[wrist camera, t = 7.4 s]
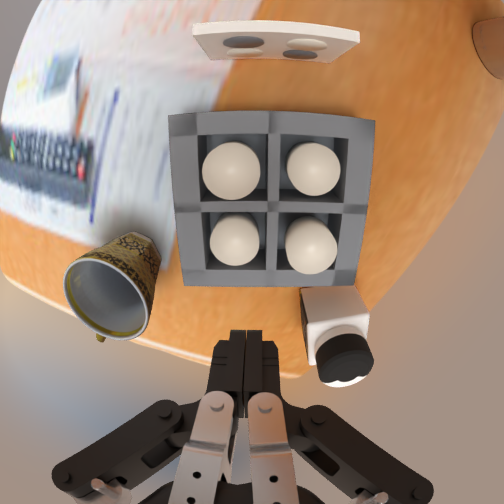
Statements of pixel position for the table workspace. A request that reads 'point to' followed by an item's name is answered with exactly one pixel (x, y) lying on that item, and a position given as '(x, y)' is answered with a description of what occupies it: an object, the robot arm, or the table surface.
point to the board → (269, 194)
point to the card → (274, 40)
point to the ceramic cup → (114, 286)
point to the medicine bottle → (336, 333)
